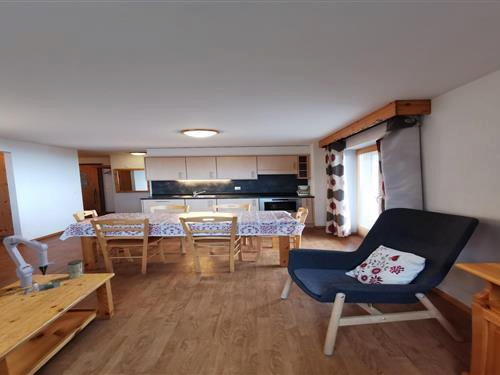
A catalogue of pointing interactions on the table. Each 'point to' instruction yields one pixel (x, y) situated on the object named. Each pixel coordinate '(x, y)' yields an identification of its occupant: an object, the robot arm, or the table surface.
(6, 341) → the table surface
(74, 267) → the coffee can
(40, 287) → the activity board
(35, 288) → the marker
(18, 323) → the table surface
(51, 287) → the button housing
